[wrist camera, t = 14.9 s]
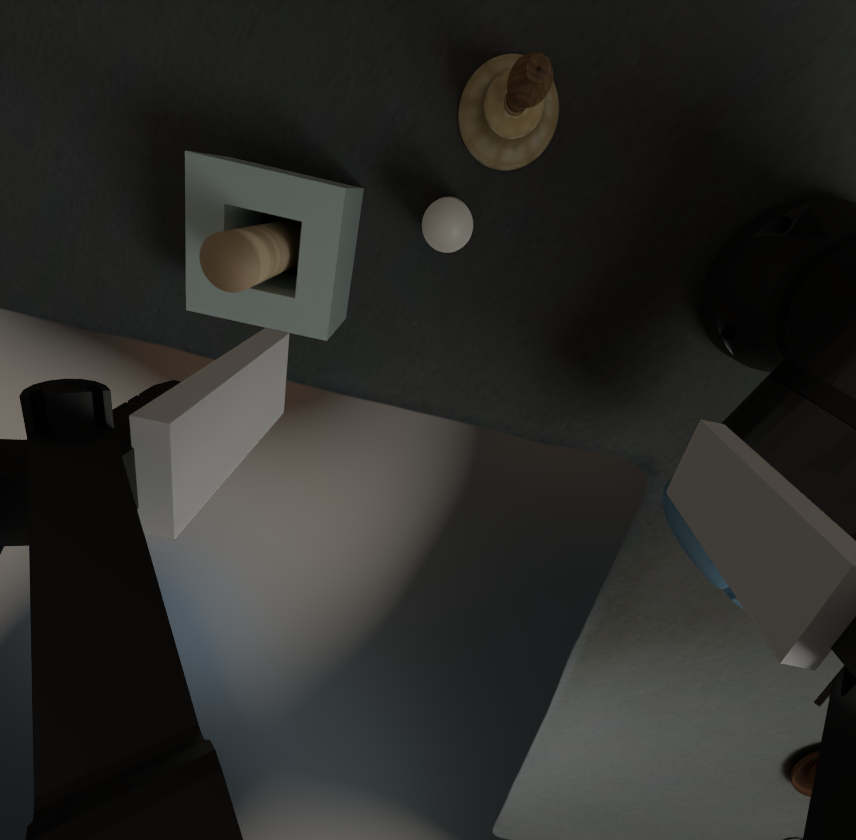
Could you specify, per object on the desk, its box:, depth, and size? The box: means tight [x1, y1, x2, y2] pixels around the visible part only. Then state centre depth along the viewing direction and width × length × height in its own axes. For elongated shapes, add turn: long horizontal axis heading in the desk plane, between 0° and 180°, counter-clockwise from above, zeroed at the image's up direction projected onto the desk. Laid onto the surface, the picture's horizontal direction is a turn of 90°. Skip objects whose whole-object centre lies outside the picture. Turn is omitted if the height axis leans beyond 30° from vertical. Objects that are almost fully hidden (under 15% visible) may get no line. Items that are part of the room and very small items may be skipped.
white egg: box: [422, 196, 473, 253], centre depth 41 cm, size 4×4×7 cm
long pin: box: [199, 220, 302, 293], centre depth 39 cm, size 4×4×14 cm
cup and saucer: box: [791, 750, 820, 797], centre depth 72 cm, size 12×12×6 cm
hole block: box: [185, 151, 364, 341], centre depth 42 cm, size 12×12×8 cm
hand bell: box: [458, 52, 559, 171], centre depth 33 cm, size 8×8×16 cm
